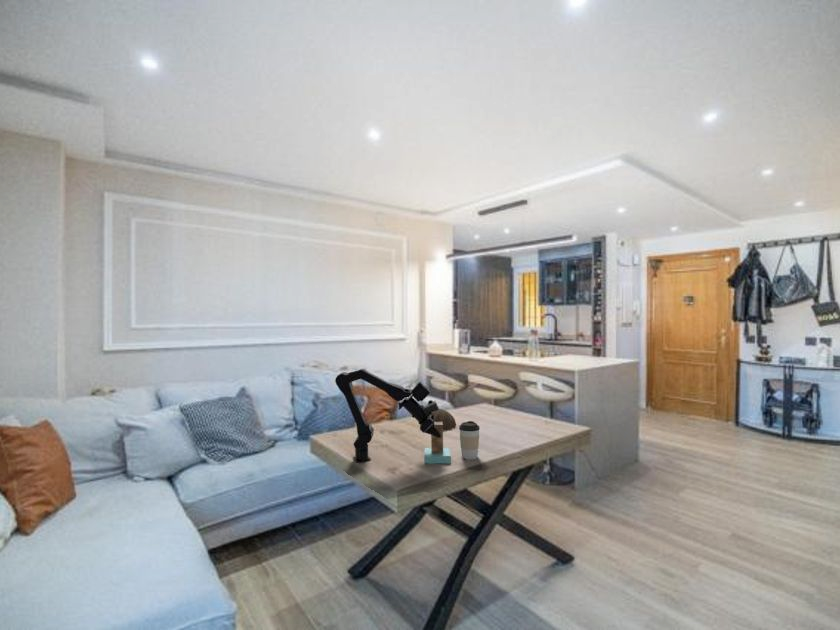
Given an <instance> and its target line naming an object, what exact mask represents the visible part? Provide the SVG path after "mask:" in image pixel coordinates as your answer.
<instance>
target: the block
mask: <svg viewBox="0 0 840 630" xmlns="http://www.w3.org/2000/svg"><path fill="white" fill-rule="evenodd" d="M434 426H435V428H436V429H437V431H438V432H439V433H440V435H441V437H440V438H438V437H436V436H433V435H430V436H431V437H430V438H431V439H430V441H431V442H430V443H431V445H430V446H431V447H430V448H431V451H432V454H443V448H444V430H443V423H442V422H434Z"/></svg>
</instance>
